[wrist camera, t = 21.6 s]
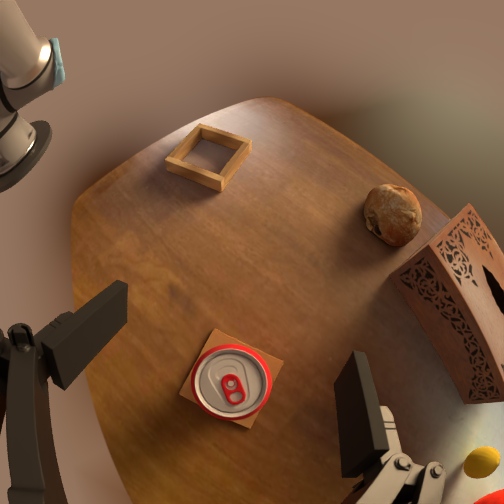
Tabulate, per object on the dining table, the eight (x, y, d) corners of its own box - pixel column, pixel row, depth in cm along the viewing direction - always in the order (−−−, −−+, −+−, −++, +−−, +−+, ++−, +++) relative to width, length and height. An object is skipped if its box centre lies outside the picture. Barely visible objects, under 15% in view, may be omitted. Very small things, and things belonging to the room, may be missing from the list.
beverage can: (247, 346, 30) (256, 329, 20) (267, 394, 28) (288, 406, 17) (196, 363, 29) (175, 356, 18) (215, 412, 27) (205, 434, 16)
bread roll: (348, 218, 44) (352, 203, 36) (386, 179, 43) (395, 158, 35) (389, 261, 41) (401, 254, 33) (426, 219, 40) (442, 205, 32)
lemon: (460, 447, 24) (494, 451, 17) (478, 443, 24) (511, 444, 17) (450, 477, 22) (483, 484, 15) (470, 471, 22) (501, 476, 14)
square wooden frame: (166, 170, 41) (164, 159, 39) (200, 133, 45) (199, 123, 43) (221, 192, 40) (221, 181, 38) (251, 151, 44) (252, 140, 42)
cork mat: (179, 393, 28) (178, 394, 27) (214, 328, 31) (214, 327, 31) (249, 428, 27) (250, 428, 26) (283, 361, 30) (284, 361, 30)
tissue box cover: (388, 275, 36) (428, 244, 27) (435, 233, 40) (469, 202, 31) (464, 404, 27) (510, 400, 18) (500, 346, 31) (539, 332, 22)
